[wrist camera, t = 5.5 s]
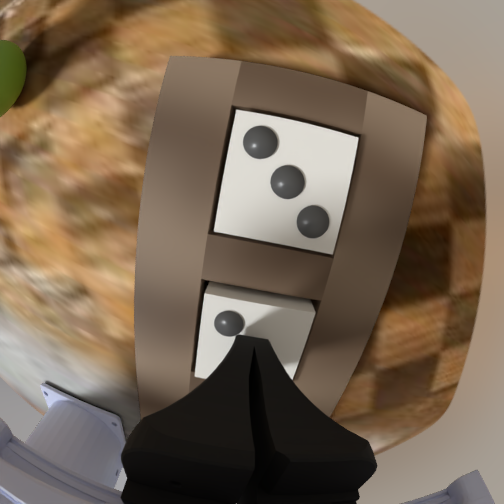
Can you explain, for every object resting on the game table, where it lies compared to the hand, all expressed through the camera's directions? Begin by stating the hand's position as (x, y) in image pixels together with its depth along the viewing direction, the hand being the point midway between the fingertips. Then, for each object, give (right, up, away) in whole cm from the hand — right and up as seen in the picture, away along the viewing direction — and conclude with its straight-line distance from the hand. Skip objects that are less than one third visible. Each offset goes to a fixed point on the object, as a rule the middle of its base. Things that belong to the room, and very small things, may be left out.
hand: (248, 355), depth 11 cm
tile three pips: (+1, +7, +1) cm, 8 cm away
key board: (0, +1, +3) cm, 3 cm away
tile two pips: (0, +1, +3) cm, 3 cm away
